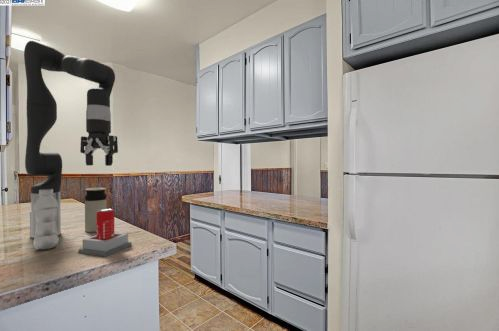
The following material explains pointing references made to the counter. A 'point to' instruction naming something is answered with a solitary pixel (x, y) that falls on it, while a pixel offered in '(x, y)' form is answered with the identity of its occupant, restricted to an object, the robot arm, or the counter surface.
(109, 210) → the beverage can
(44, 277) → the counter surface
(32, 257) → the counter surface
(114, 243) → the can holder
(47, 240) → the plastic bottle
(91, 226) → the travel mug
